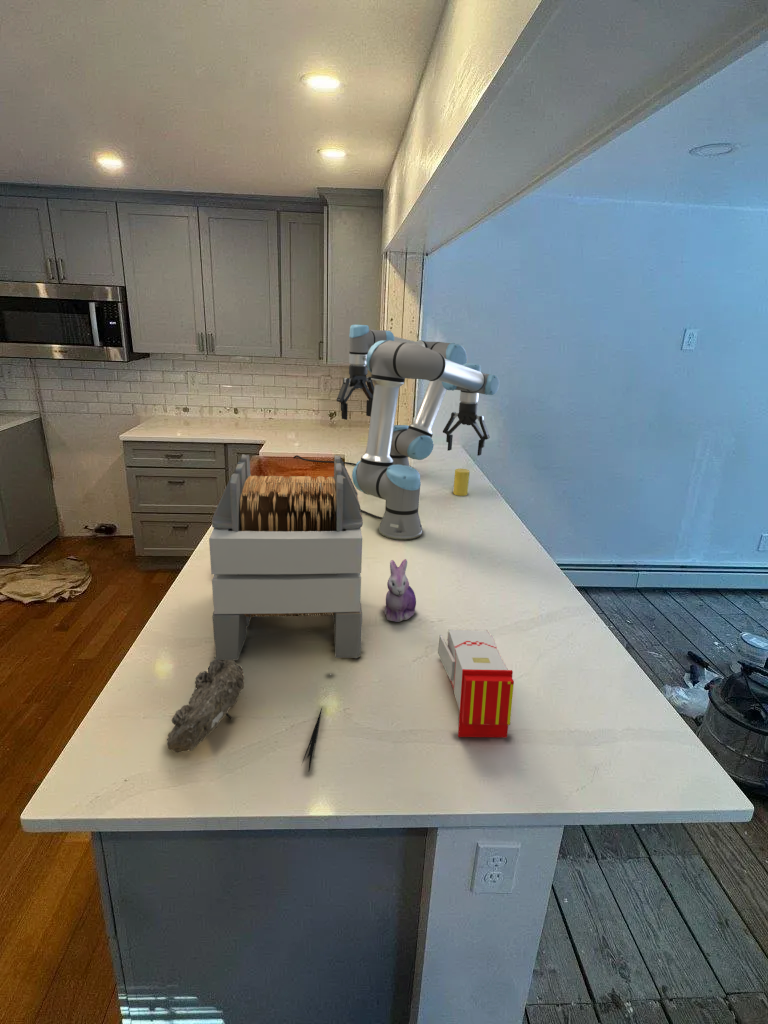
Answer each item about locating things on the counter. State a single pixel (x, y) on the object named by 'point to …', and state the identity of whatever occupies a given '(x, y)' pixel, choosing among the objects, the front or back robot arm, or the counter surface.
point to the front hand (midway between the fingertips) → (464, 452)
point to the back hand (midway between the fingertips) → (356, 417)
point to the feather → (313, 740)
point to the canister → (461, 482)
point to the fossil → (206, 705)
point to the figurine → (399, 594)
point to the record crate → (286, 555)
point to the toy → (478, 682)
